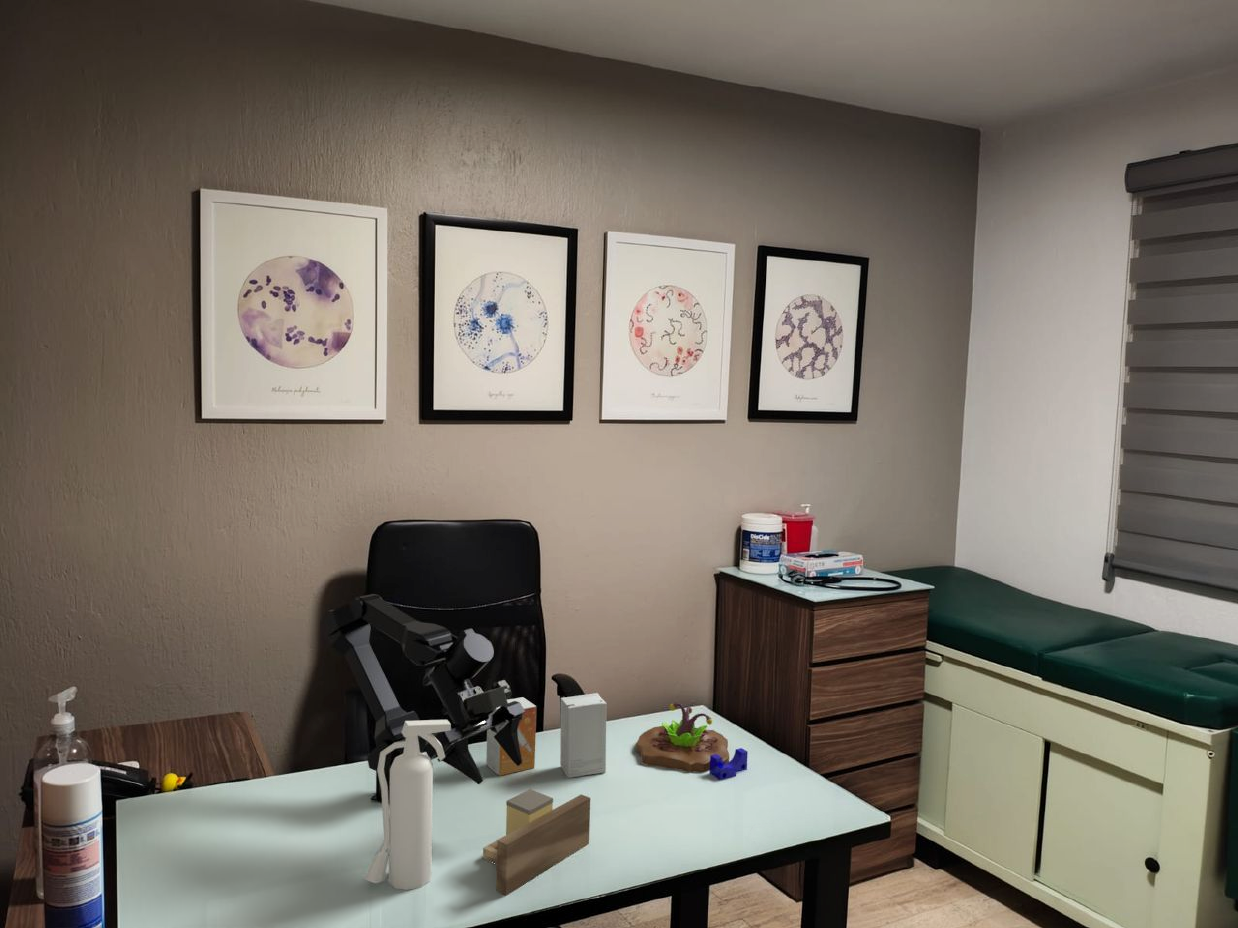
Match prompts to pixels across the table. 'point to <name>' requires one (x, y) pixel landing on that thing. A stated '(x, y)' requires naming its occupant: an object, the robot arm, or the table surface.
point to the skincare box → (583, 735)
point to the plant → (682, 744)
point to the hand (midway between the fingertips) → (501, 773)
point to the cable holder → (728, 765)
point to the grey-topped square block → (526, 809)
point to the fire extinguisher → (408, 809)
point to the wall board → (540, 844)
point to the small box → (526, 738)
